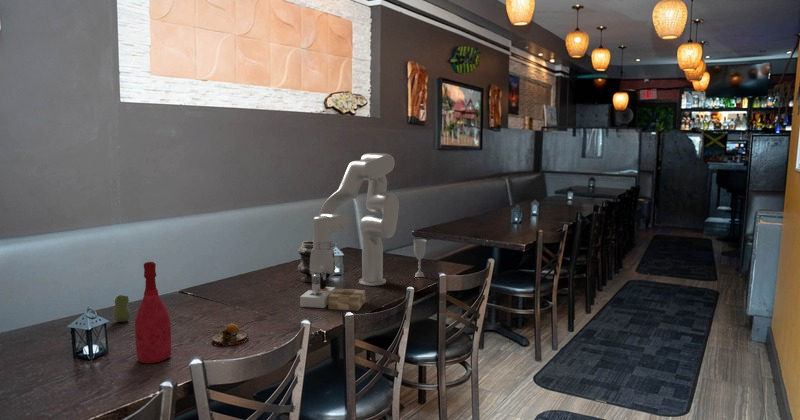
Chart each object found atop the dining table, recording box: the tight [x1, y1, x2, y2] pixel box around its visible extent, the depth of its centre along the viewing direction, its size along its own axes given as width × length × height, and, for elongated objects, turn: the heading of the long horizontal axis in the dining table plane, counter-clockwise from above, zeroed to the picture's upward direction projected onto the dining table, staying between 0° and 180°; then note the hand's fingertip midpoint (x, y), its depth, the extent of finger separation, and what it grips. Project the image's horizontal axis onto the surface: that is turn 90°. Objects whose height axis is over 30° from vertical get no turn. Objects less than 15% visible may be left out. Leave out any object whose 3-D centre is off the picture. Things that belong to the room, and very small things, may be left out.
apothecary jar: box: [297, 240, 313, 283], centre depth 265 cm, size 12×12×18 cm
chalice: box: [412, 238, 427, 278], centre depth 271 cm, size 7×7×18 cm
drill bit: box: [311, 274, 320, 296], centre depth 227 cm, size 3×3×12 cm
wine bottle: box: [134, 261, 172, 364], centre depth 168 cm, size 10×10×30 cm
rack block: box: [327, 288, 366, 312], centre depth 225 cm, size 12×12×5 cm
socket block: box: [299, 286, 336, 309], centre depth 231 cm, size 18×10×4 cm, turn 170°
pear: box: [112, 294, 132, 323], centre depth 203 cm, size 6×5×10 cm
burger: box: [210, 321, 249, 347], centre depth 186 cm, size 12×12×8 cm
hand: (322, 288), depth 236 cm, fingers closed
